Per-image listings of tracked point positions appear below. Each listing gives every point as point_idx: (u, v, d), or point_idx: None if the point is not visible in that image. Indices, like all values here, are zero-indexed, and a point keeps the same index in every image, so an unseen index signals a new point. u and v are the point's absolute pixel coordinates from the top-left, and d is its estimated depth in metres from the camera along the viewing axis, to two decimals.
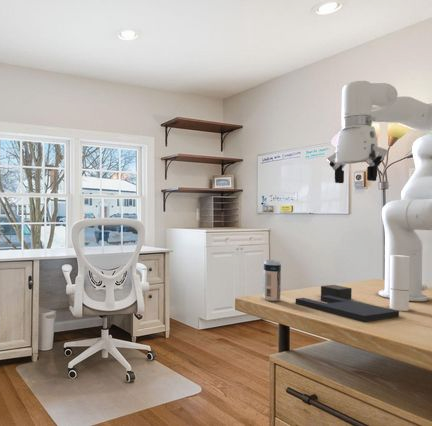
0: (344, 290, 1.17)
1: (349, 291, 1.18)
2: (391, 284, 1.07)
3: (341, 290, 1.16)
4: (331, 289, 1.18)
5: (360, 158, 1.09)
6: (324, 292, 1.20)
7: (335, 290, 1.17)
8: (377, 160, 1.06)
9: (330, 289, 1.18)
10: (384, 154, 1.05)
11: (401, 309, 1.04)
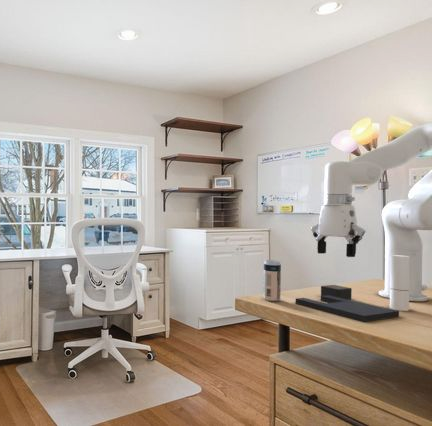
0: (344, 290, 1.17)
1: (349, 291, 1.18)
2: (391, 284, 1.07)
3: (341, 290, 1.16)
4: (331, 289, 1.18)
5: (340, 235, 1.16)
6: (324, 292, 1.20)
7: (335, 290, 1.17)
8: (355, 239, 1.13)
9: (330, 289, 1.18)
10: (362, 234, 1.12)
11: (401, 309, 1.04)
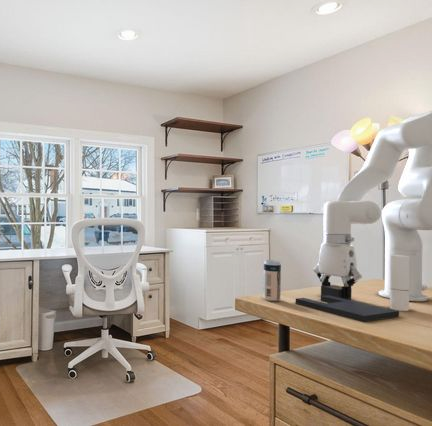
0: None
1: None
2: (391, 284, 1.07)
3: (341, 290, 1.16)
4: (331, 289, 1.18)
5: (340, 275, 1.16)
6: (324, 292, 1.20)
7: (335, 290, 1.17)
8: (350, 282, 1.14)
9: (330, 289, 1.18)
10: (357, 279, 1.13)
11: (401, 309, 1.04)
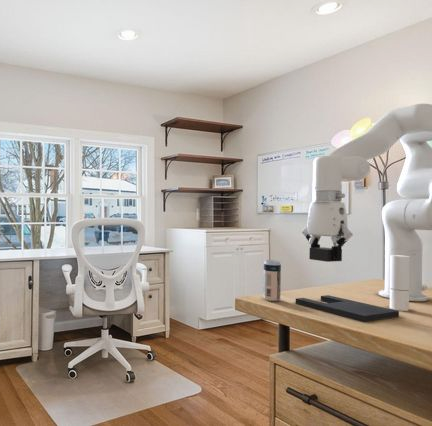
0: None
1: None
2: (391, 284, 1.07)
3: (330, 250, 1.08)
4: (320, 250, 1.10)
5: (330, 234, 1.08)
6: (313, 254, 1.12)
7: (324, 250, 1.09)
8: (341, 241, 1.06)
9: (319, 250, 1.10)
10: (348, 237, 1.05)
11: (401, 309, 1.04)
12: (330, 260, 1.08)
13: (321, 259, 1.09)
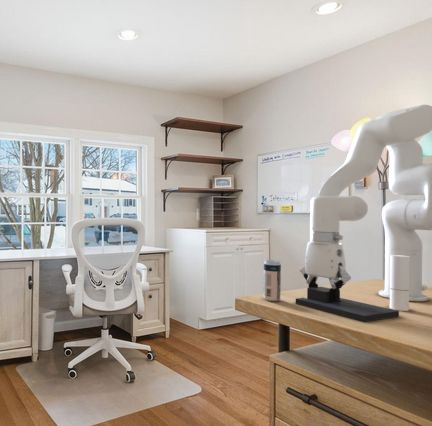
0: None
1: None
2: (391, 284, 1.07)
3: (328, 292, 1.07)
4: (318, 291, 1.09)
5: (327, 276, 1.07)
6: (311, 295, 1.11)
7: (322, 292, 1.07)
8: (339, 284, 1.05)
9: (317, 291, 1.09)
10: (346, 281, 1.04)
11: (401, 309, 1.04)
12: (328, 302, 1.07)
13: (319, 301, 1.08)
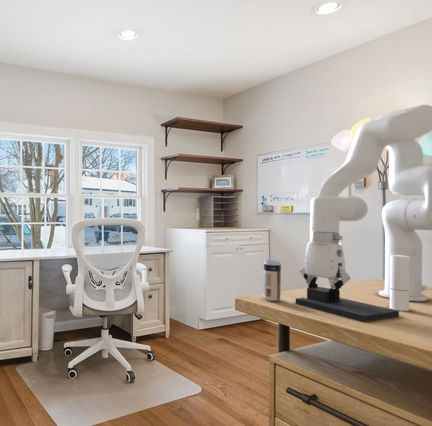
0: None
1: None
2: (391, 284, 1.07)
3: (328, 293, 1.07)
4: (317, 292, 1.09)
5: (327, 276, 1.07)
6: (311, 295, 1.11)
7: (321, 292, 1.07)
8: (338, 284, 1.05)
9: (316, 292, 1.09)
10: (346, 281, 1.04)
11: (401, 309, 1.04)
12: (328, 302, 1.07)
13: (319, 301, 1.08)
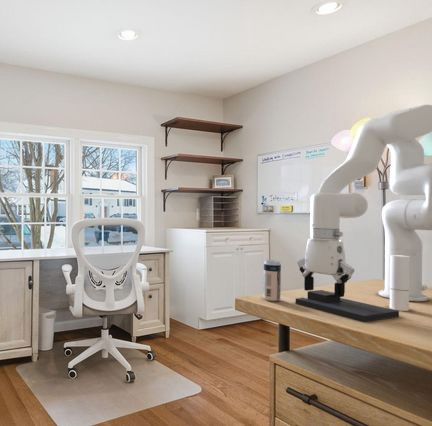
0: (332, 296, 1.07)
1: (338, 297, 1.08)
2: (391, 284, 1.07)
3: (329, 296, 1.07)
4: (318, 295, 1.09)
5: (328, 273, 1.07)
6: (311, 298, 1.11)
7: (322, 296, 1.07)
8: (344, 278, 1.04)
9: (317, 295, 1.09)
10: (351, 273, 1.03)
11: (401, 309, 1.04)
12: None
13: None
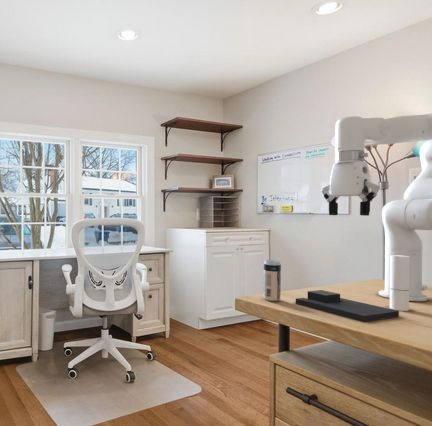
0: (332, 296, 1.07)
1: (338, 297, 1.08)
2: (391, 284, 1.07)
3: (329, 296, 1.07)
4: (318, 295, 1.09)
5: (353, 193, 1.11)
6: (311, 298, 1.11)
7: (322, 296, 1.07)
8: (370, 196, 1.08)
9: (317, 295, 1.09)
10: (376, 190, 1.07)
11: (401, 309, 1.04)
12: None
13: None
